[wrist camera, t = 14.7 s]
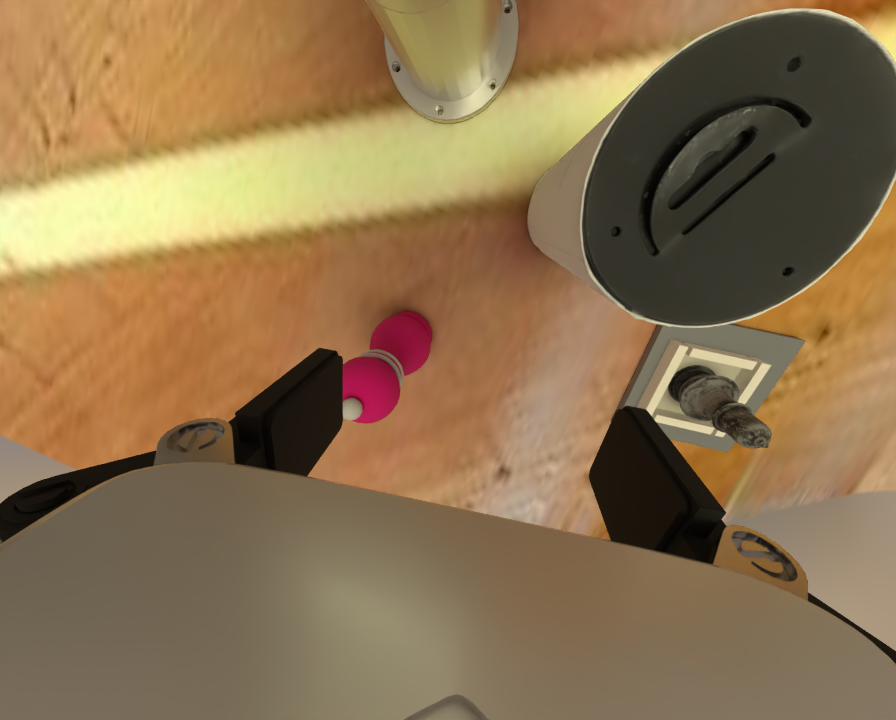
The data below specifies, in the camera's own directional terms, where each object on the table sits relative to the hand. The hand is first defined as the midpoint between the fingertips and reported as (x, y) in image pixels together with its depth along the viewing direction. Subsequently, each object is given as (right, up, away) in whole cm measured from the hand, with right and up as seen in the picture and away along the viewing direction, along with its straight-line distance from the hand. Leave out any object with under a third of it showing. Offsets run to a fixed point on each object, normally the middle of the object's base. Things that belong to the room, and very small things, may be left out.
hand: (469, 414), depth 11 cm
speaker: (+13, +18, +24) cm, 33 cm away
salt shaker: (+29, -1, +28) cm, 41 cm away
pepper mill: (-6, +5, +32) cm, 33 cm away
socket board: (+30, -1, +29) cm, 42 cm away
